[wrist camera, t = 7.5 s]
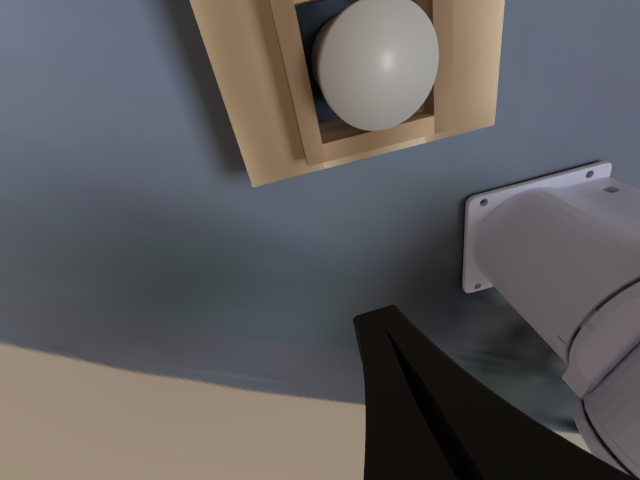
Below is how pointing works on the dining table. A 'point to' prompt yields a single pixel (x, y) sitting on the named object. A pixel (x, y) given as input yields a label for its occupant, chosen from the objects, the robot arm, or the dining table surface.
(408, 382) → the robot arm
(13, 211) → the dining table surface
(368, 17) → the grey plug
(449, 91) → the socket board
